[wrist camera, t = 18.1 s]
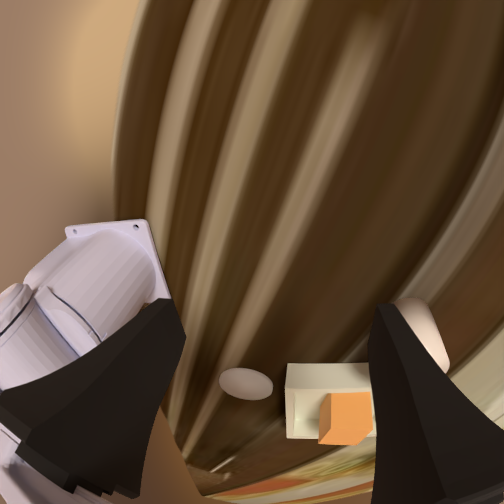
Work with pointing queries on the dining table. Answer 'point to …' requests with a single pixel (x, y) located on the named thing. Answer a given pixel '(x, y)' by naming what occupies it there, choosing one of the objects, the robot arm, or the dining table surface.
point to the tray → (320, 393)
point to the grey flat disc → (245, 383)
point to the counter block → (345, 418)
